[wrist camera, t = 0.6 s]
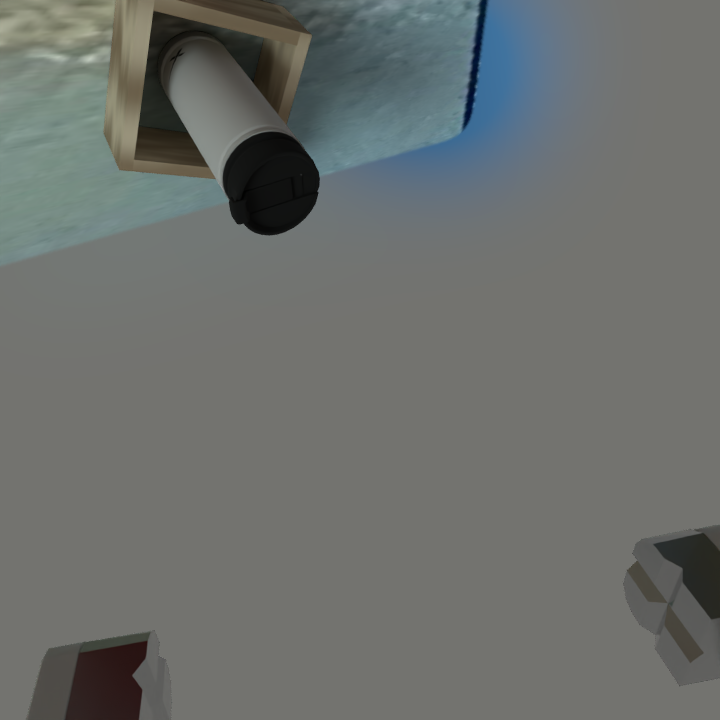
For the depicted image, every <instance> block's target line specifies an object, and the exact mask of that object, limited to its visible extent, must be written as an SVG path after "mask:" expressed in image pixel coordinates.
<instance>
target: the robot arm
mask: <svg viewBox="0 0 720 720" xmlns="http://www.w3.org/2000/svg"><path fill="white" fill-rule="evenodd" d="M632 554H633V555H634V556H635V558H636V559H637V561H636V562H635V563H634V564H633V565H632V566H631V567H630V568H629V569H628V570H627V572H626V576H625V579H624V589H625V596H626V600H627V603H628V605H629V607H630V610H631V612H632V613H633V615H634V617H635V618H636V620H637V621H638V623H639V625H641V626H642V627H644V628H646V629H647V630H649V631H650V632H652V633H653V634H655V637H656V638H655V649H656V651H657V652H658V654H659V655H660V657H661V658H662V660H663V662H664V663H665V664H666V666H667V668H668V669H669V671H670V672H671V674H672V675H673V677H674V678H675V680H676V681H677V683H678V684H679V686H682V685H687V684H692V683H697V682H703V681H708V680H713V679H718V678H720V525H713V526H708V527H703V528H699V529H694V530H692V529H689V530H684V531H679V532H674V533H669V534H664V535H659V536H655V537H650V538H645V539H641V540H640V541H639V542H637V543H636V545H635V548H634V551H633V553H632ZM158 655H159V640H158V638H157V635H156V633H155V631H154V630H153V631H148V632H142V633H136V634H130V635H124V636H118V637H113V638H107V639H101V640H95V641H89V642H82V643H76V644H71V645H65V646H60V647H55V648H49V649H48V651H47V652H46V654H45V656H44V658H43V659H42V661H41V665H40V669H39V672H38V676H37V680H36V684H35V687H34V691H33V695H32V699H31V702H30V706H29V711H28V714H27V718H26V720H171V704H172V699H171V680H170V674H169V669H168V666H167V663H166V660H165V659H164V658H162V657H160V656H158Z"/></svg>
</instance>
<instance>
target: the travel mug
mask: <svg viewBox="0 0 720 720" xmlns="http://www.w3.org/2000/svg"><path fill="white" fill-rule="evenodd" d="M157 72H158V78H159V81H160V84H161V87H162V88H163V90H164V92H165V93H166V95H167V97H168V98H169V100H170V102H171V103H172V105H173V107H174V109H175V110H176V112H177V114H178V115H179V117H180V119H181V120H182V122H183V124H184V125H185V127H186V129H187V131H188V132H189V134H190V136H191V137H192V139H193V141H194V142H195V144H196V146H197V147H198V149H199V151H200V153H201V154H202V156H203V158H204V159H205V161H206V163H207V164H208V166H209V168H210V170H211V171H212V173H213V175H214V176H215V178H216V180H217V181H218V183H219V185H220V186H221V188H222V190H223V192H224V193H225V195H226V197H227V198H228V200H229V206H230V211H231V215H232V217H233V219H234V220H235V222H236V223H237V224H243V223H244V225H245V226H246V227H247V228H248V229H250V230H251V231H253V232H255V233H258V234H261V235H277V234H280V233H283V232H286V231H288V230H290V229H292V228H294V227H295V226H297V225H298V224H299V223H300V222H302V221H303V220H304V219H305V218H306V217H307V215H308V214H309V213H310V212H311V210H312V209H313V207H314V205H315V203H316V200H317V196H318V192H317V191H318V188H319V181H320V178H319V172H318V170H317V168H316V166H315V164H314V162H313V160H312V159H311V157H310V156H309V155H308V153H307V152H306V151H305V149H304V147H303V146H302V145H301V143H300V142H299V141H298V139H297V138H296V137H295V136H294V134H293V133H292V132H291V130H290V129H289V128H288V127H287V125H286V124H285V123H284V122H283V120H282V119H281V118H280V117H279V115H278V114H277V113H276V111H275V110H274V109H273V108H272V106H271V105H270V104H269V103H268V101H267V100H266V99H265V97H264V96H263V95H262V94H261V92H260V91H259V90H258V89H257V87H256V86H255V85H254V84H253V82H252V81H251V80H250V78H249V77H248V76H247V75H246V73H245V72H244V71H243V70H242V68H241V67H240V66H239V65H238V63H237V62H236V61H235V59H234V58H233V57H232V56H231V54H230V53H229V52H228V51H227V49H226V48H225V47H224V45H223V44H222V43H221V42H220V41H219V40H218V39H216V38H215V37H213V36H212V35H210V34H207V33H204V32H199V31H190V32H185V33H182V34H179V35H177V36H176V37H174V38H173V39H171V40H170V41H169V42H168V43H167V44H166V46H165V47H164V48H163V50H162V52H161V54H160V57H159V61H158V70H157Z"/></svg>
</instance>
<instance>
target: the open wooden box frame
mask: <svg viewBox="0 0 720 720" xmlns="http://www.w3.org/2000/svg"><path fill="white" fill-rule="evenodd" d="M153 11H157V12H161V13H165V14H169V15H173V16H177V17H181V18H185V19H189V20H194V21H198V22H202V23H206V24H210V25H214V26H218V27H222V28H226V29H231V30H235V31H239V32H243V33H247V34H251V35H255V36H259V37H263V38H264V40H263V44H262V48H261V52H260V57H259V61H258V65H257V69H256V73H255V77H254V82H253V84H254V85H255V86H256V87H257V89H258V90H259V91H260V92H261V94H262V95H263V96H264V97H265V99H266V100H267V101H268V103H269V104H270V105H271V106H272V108H273V109H274V110H275V111H276V113H277V114H278V115H279V117H280V118H281V119H282V120H283V122H284V123H285V124H287V121H288V117H289V114H290V110H291V107H292V103H293V100H294V96H295V93H296V89H297V86H298V83H299V79H300V76H301V72H302V69H303V65H304V62H305V58H306V55H307V51H308V48H309V44H310V41H311V37H312V35H311V34H310V33H309V32H308V31H307V30H306V29H305V28H304V27H303V26H302V25H301V24H300V23H299V22H298V21H297V20H296V19H295V18H294V17H293V16H292V15H291V14H290V13H289V12H288V11H287V10H286V9H285V8H284V7H282V6H279V5H275V4H272V3H268V2H265V1H261V0H116V4H115V15H114V26H113V37H112V47H111V58H110V69H109V80H108V90H107V101H106V112H105V123H104V135H105V137H106V140H107V142H108V144H109V147H110V149H111V151H112V154H113V156H114V158H115V161H116V163H117V166H118V168H119V170H125V171H136V172H147V173H157V174H168V175H178V176H189V177H199V178H210V179H216V178H215V176H214V175H213V173H212V171H211V170H210V168H209V166H208V164H207V163H206V161H205V159H204V158H203V156H202V154H201V153H200V151H199V149H198V147H197V146H196V144H195V142H194V141H193V139H192V137H191V136H190V134H189V133H185V132H178V131H170V130H163V129H156V128H148V127H141V126H138V125H139V117H140V110H141V102H142V94H143V86H144V79H145V71H146V63H147V55H148V48H149V40H150V32H151V24H152V17H153Z"/></svg>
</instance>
